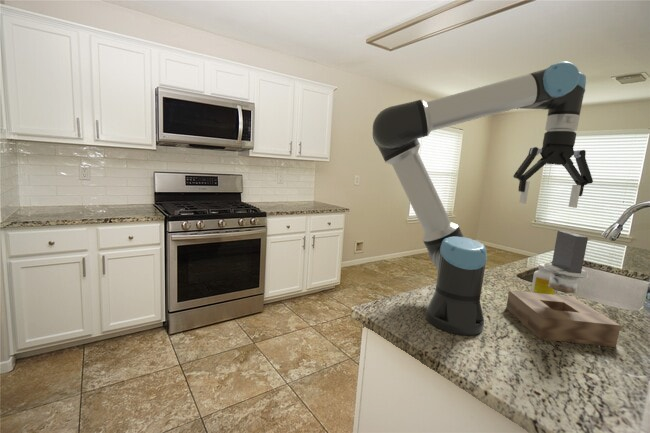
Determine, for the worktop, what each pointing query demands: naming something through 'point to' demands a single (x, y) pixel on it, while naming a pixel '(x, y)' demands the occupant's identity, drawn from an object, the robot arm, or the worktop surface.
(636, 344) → the worktop surface
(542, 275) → the supplement bottle
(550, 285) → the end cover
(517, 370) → the worktop surface
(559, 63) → the robot arm
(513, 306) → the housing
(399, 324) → the worktop surface
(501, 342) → the worktop surface
